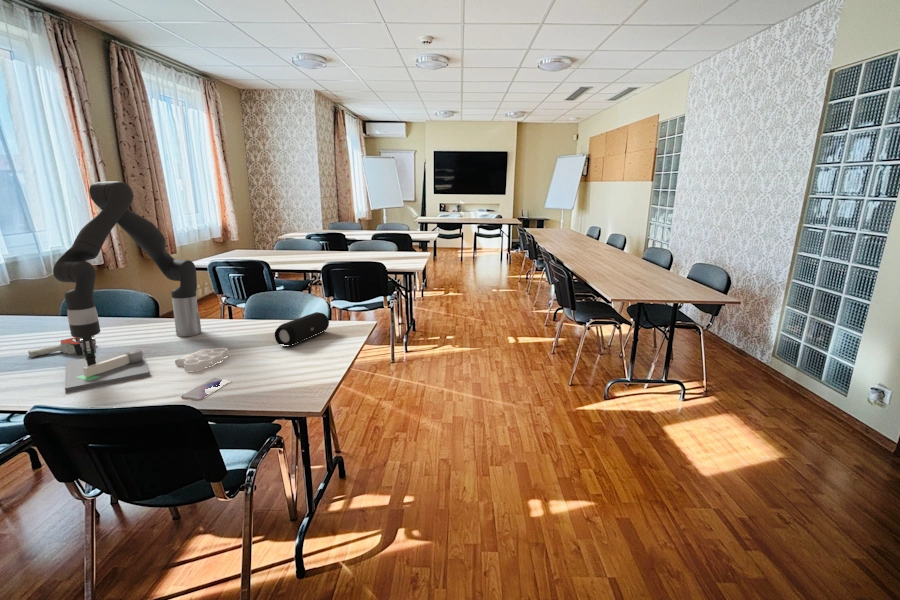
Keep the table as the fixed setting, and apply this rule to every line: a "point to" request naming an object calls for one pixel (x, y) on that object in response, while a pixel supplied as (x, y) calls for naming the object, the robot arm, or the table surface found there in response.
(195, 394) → the smartphone
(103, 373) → the dial plate
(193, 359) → the grey paint palette
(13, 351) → the table surface
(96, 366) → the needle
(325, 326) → the portable speaker
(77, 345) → the tape dispenser
